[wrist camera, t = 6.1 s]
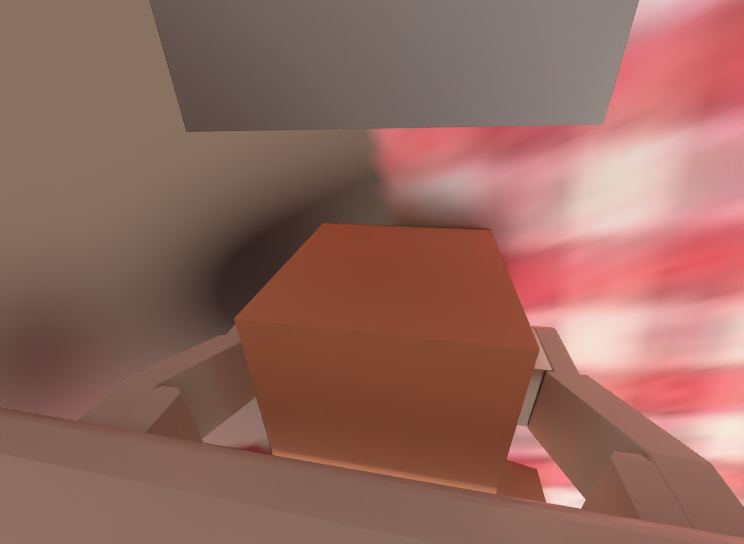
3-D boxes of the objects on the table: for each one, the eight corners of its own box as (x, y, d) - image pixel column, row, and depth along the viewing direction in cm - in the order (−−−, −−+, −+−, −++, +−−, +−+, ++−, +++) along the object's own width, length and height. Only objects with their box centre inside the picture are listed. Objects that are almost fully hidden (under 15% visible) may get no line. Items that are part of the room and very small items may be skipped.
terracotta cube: (323, 222, 10) (234, 318, 6) (490, 230, 9) (539, 348, 5) (335, 345, 12) (279, 479, 8) (468, 360, 11) (488, 519, 7)
